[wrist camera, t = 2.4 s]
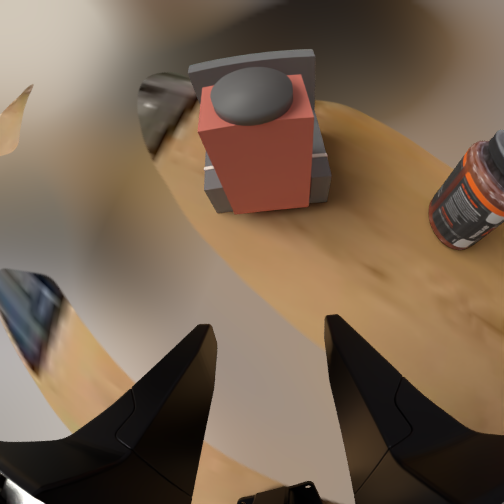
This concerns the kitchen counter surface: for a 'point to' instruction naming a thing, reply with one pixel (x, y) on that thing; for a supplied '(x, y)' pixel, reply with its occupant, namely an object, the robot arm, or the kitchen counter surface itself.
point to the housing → (289, 65)
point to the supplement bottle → (471, 196)
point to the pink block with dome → (259, 138)
